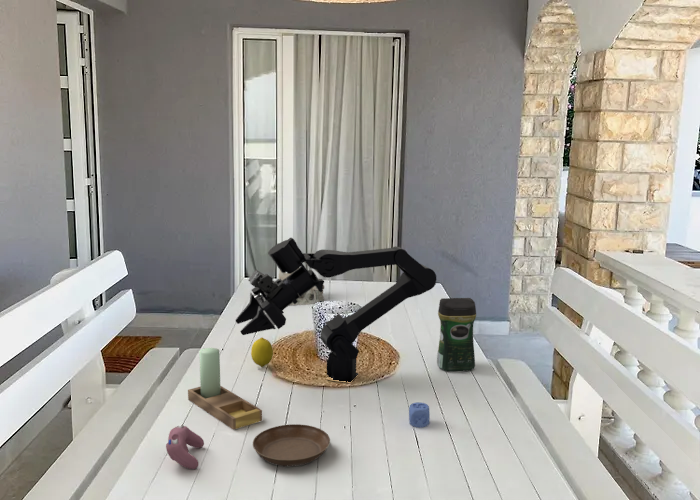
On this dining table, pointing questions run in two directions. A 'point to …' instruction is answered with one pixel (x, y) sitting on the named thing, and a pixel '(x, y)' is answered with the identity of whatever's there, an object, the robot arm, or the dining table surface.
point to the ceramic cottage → (306, 294)
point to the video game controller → (183, 446)
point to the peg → (209, 372)
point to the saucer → (291, 444)
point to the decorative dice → (419, 415)
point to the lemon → (261, 352)
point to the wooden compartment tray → (227, 408)
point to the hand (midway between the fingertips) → (238, 327)
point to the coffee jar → (456, 334)
